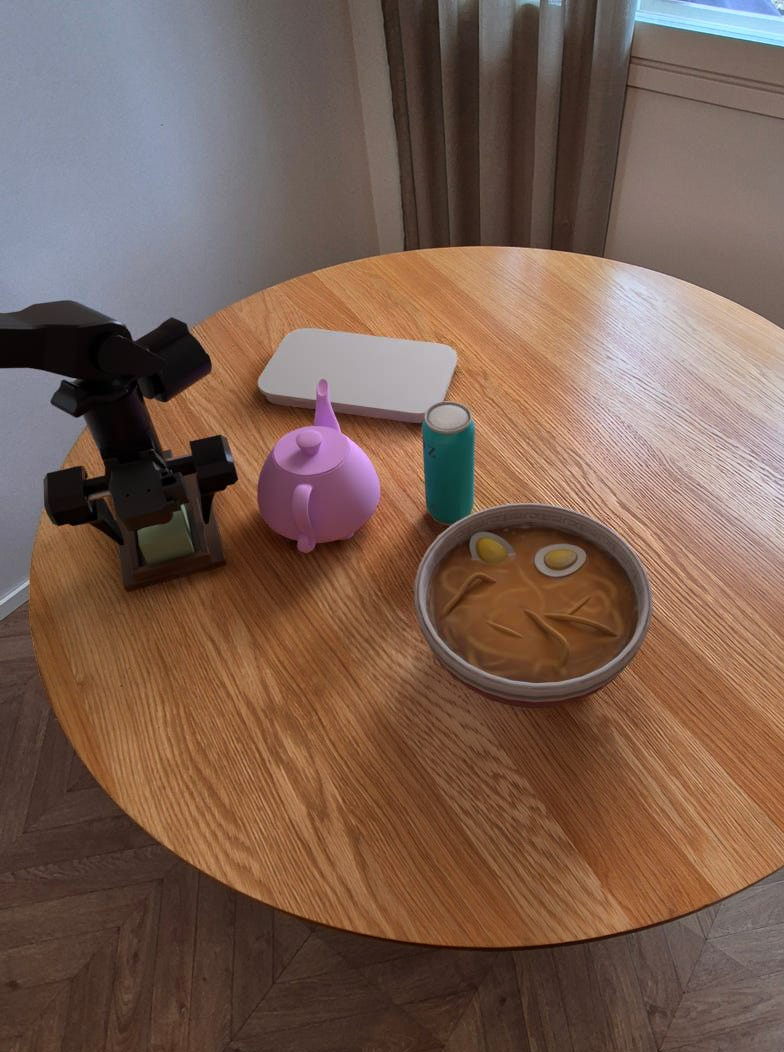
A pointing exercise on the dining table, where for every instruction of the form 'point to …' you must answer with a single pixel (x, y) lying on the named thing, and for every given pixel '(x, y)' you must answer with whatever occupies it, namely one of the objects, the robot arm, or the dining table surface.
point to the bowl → (532, 604)
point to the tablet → (359, 373)
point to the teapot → (317, 482)
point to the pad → (167, 539)
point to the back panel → (203, 559)
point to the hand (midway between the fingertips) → (165, 532)
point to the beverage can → (448, 461)
